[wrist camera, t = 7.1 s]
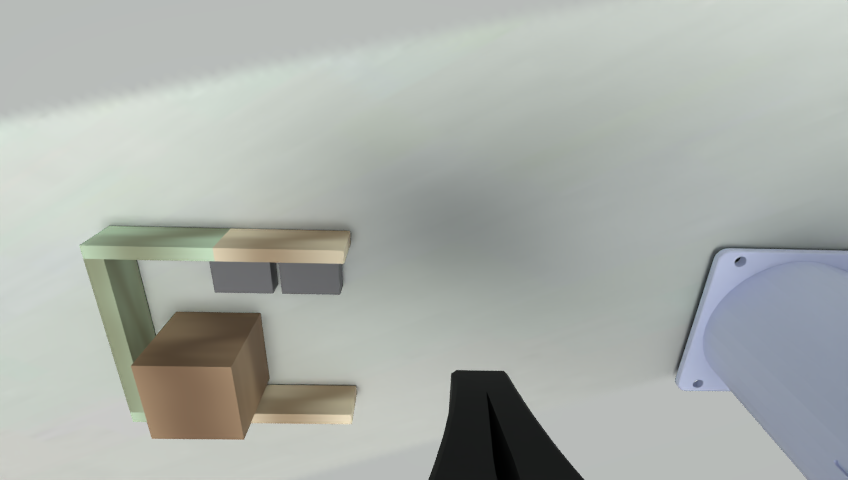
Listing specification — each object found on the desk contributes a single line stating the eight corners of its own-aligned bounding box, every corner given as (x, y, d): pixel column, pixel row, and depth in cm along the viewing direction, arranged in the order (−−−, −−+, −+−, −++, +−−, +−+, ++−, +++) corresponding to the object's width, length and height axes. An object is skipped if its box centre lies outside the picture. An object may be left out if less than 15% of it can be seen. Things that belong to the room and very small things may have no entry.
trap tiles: (340, 247, 21) (337, 254, 20) (342, 285, 22) (340, 294, 21) (214, 244, 21) (207, 252, 20) (221, 283, 22) (215, 292, 21)
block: (260, 312, 23) (231, 367, 19) (269, 377, 24) (243, 439, 21) (177, 310, 22) (130, 365, 19) (191, 376, 24) (151, 438, 21)
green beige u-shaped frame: (349, 230, 21) (343, 250, 19) (356, 394, 25) (351, 424, 23) (109, 225, 20) (79, 245, 19) (154, 392, 24) (133, 421, 23)
